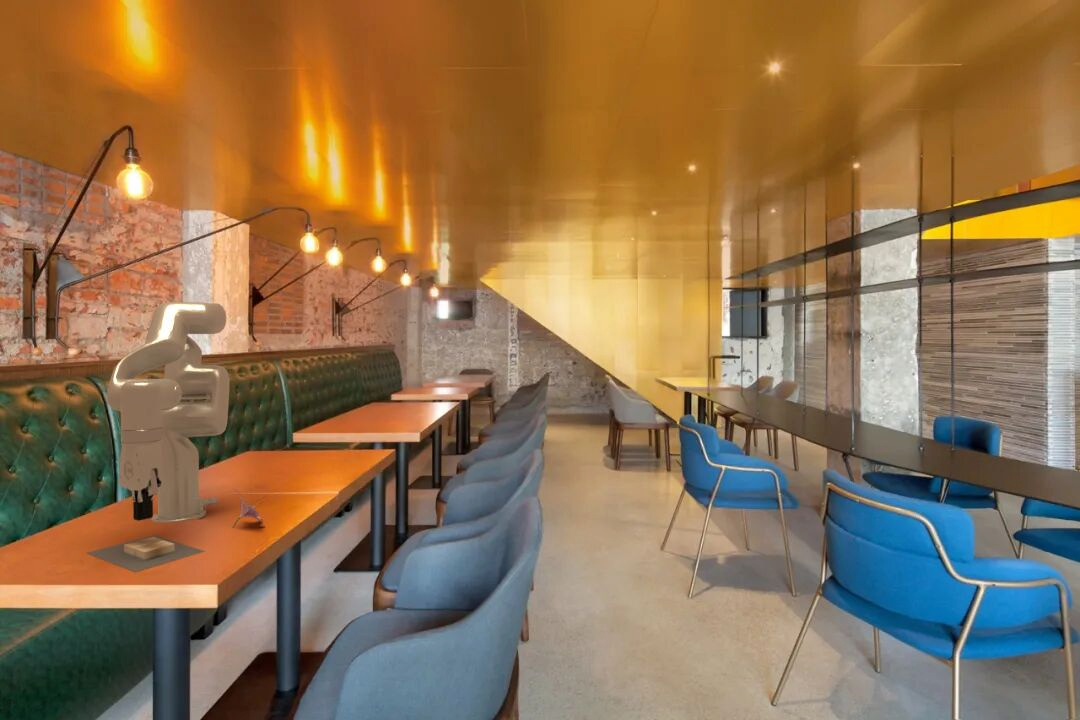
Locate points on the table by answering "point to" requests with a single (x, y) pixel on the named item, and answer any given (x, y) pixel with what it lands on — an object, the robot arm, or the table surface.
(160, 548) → the tile
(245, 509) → the lily
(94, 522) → the table surface
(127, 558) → the mat
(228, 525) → the table surface
